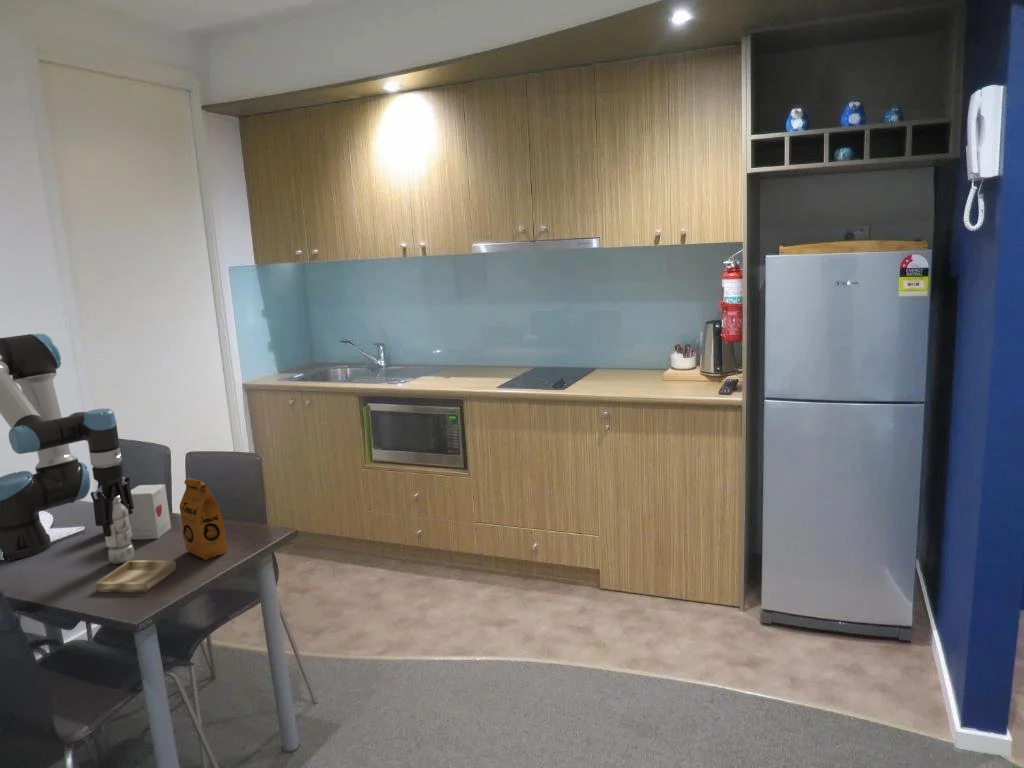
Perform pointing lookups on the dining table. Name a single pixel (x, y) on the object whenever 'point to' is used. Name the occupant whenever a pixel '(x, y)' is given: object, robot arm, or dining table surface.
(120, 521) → the plastic bottle
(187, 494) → the coffee package
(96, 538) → the dining table surface
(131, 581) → the bamboo tray
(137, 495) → the supplement box
